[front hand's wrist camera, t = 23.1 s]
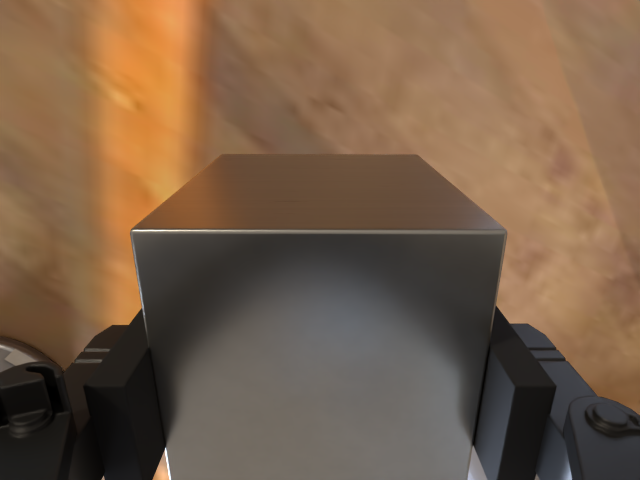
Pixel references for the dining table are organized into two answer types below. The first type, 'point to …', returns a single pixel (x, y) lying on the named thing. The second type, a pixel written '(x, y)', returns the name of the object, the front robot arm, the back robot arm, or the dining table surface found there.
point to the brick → (318, 318)
